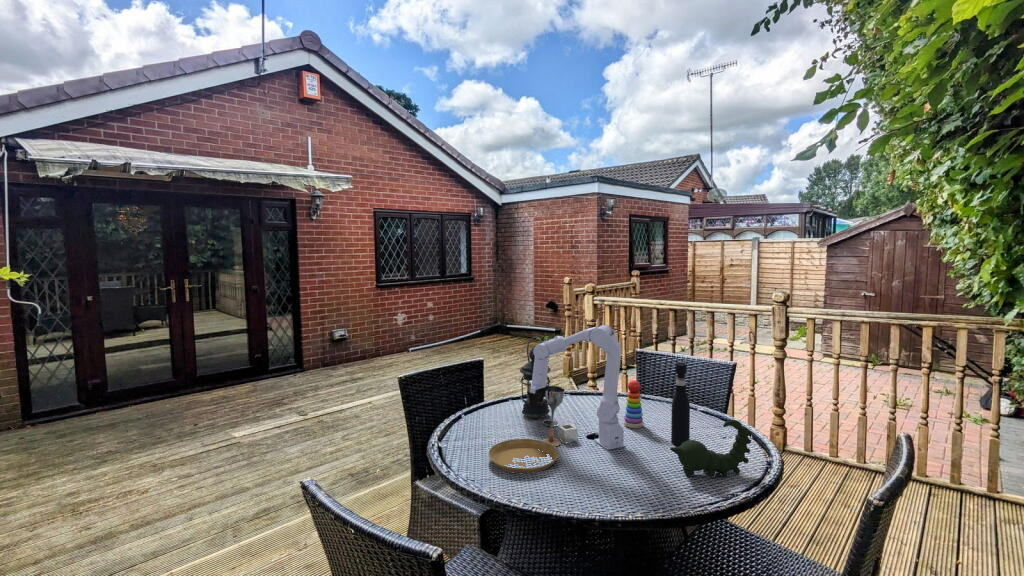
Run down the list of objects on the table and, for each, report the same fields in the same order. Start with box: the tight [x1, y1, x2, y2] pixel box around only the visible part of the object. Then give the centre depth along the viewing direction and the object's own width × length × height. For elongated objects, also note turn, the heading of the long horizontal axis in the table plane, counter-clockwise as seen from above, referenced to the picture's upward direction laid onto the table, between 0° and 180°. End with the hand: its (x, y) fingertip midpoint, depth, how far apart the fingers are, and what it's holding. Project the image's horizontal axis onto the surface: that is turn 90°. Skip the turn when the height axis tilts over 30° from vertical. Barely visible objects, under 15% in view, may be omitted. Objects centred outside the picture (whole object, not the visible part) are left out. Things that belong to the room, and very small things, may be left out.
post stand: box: [541, 428, 561, 448], centre depth 178 cm, size 7×7×6 cm
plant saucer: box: [487, 438, 559, 474], centre depth 164 cm, size 24×24×3 cm
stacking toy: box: [623, 380, 645, 429], centre depth 194 cm, size 8×8×19 cm
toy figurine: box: [669, 419, 752, 479], centre depth 151 cm, size 9×19×25 cm
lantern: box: [519, 336, 551, 419], centre depth 207 cm, size 14×13×35 cm
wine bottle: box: [670, 362, 691, 447], centre depth 175 cm, size 6×6×30 cm
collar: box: [557, 423, 578, 444], centre depth 181 cm, size 6×6×5 cm
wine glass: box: [542, 385, 565, 427], centre depth 197 cm, size 8×8×15 cm
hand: (536, 405), depth 190 cm, fingers open, 7 cm apart
